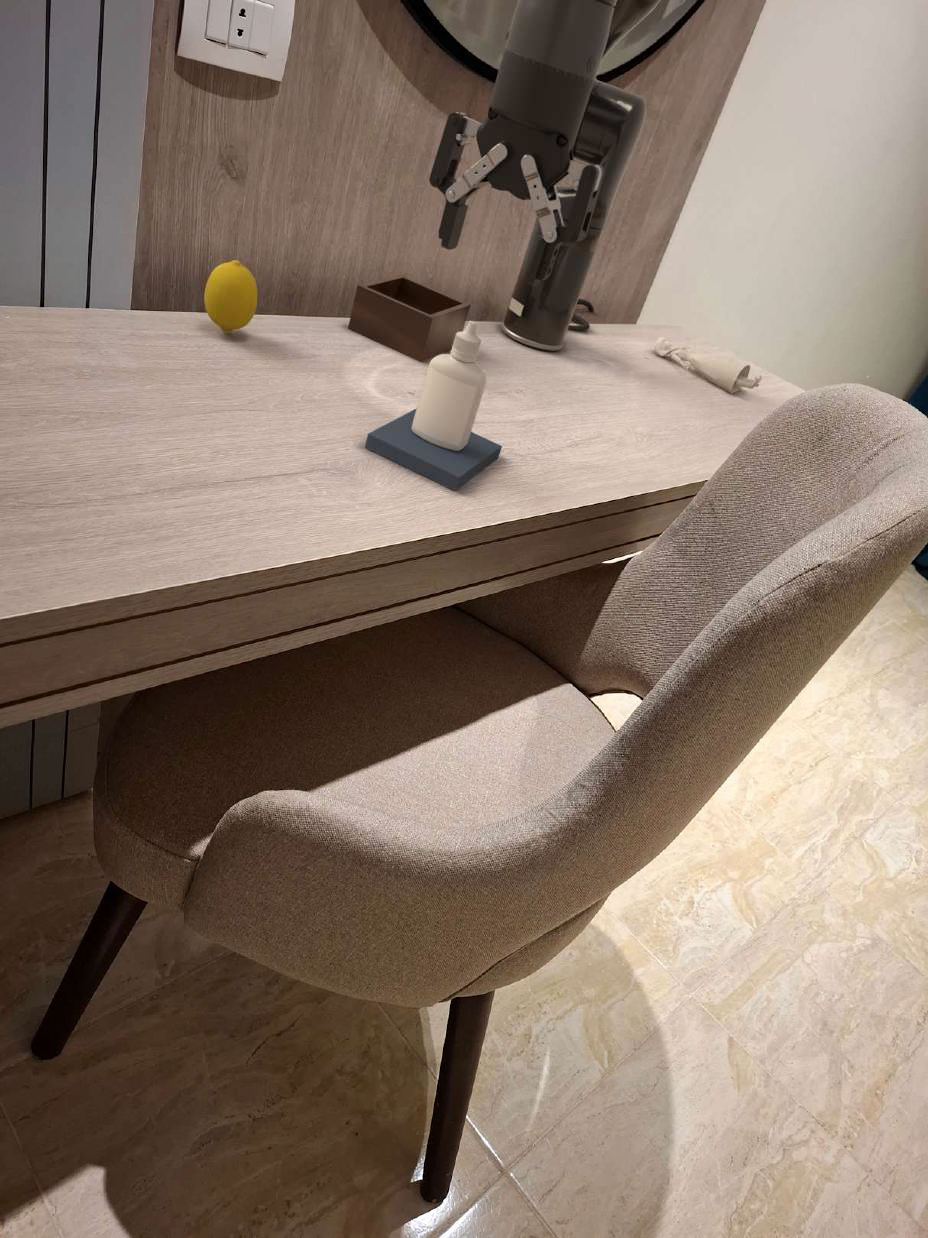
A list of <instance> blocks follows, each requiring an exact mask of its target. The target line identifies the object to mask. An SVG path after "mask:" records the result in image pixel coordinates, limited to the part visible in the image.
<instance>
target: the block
mask: <svg viewBox="0 0 928 1238" xmlns="http://www.w3.org/2000/svg"><path fill="white" fill-rule="evenodd" d="M416 409H417V407H416V408H414V409H412V410H410V411H409V412H407V413H405V414H403V415H401V416H399V417H397V418H395V419H394V420H391V421H389V422H387V423H385V424H383V425H382V426H380V427H378V428H376V429H374V430H372V431H371V432H368V433H367V436H366V441H365V444H364V448H365V449H367V450H369V451H371V452H373V453H375V454H377V455H379V456H381V457H383V458H386V459H388V460H390V461H392V462H394V463H396V464H398V465H400V466H402V467H404V468H406V469H409V470H410V471H412V472H415V473H416V474H419V475H421V476H422V477H425V478H427V479H429V480H431V481H433V482H435V483H438V484H439V485H442V486H444V487H446V488H448V489H450V490H452V491H453V492H456V491H457V490H458V489H459V488H460V489H461V487H463V486H464V485H465V484H466V483H469V481H470V480H472V479H473V478H475V477H476V476H477V475H478V474H480V473H481V472H483V470H485V469H486V468H488V467H489V466H490V465H492V464H493V463H495V462H496V461H497V460H498V459H499V457H500V454H501V451H502V448H503V446H502V445H501V444H498V443H497V442H495V441H492V440H490V439H488V438H485V437H484V436H482V435H479V434H477V433H475V432H473V431H471V433H470V436H469V439H468V442H467V445H466V446H465V447H464V448H463V449H461V450H459V451H453V450H449V449H446V448H442V447H439V446H437V445H434V444H432V443H430V442H428V441H426V440H424V439H422V438H420V437H419V436H417V435H416V434H414V433H413V431H412V424H413V420H414V416H415V413H416Z"/></svg>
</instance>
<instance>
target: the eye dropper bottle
mask: <svg viewBox="0 0 928 1238" xmlns="http://www.w3.org/2000/svg"><path fill="white" fill-rule="evenodd" d="M477 327H478V324H477V322H476V321H475V320H469V321H468V324H467V325H466V327H465V328H464V329H463V331H461V332H457V333H456V336H455V339H454V343H453V346H452V348H451V349H450V353H440V354H437V355H435V356H433V357H432V359H431V360H430V362H429V365H428V367H427V371H426V373H425V378H424V382H423V385H422V388H421V391H420V395H419V399H418V402H417V406H416V408H417V409H416V408H415V409H416V413H415V416H414V420H413V424H412V431H413V433H414V434H416V435H417V436H419V437H420V438H422V439H424V440H426V441H428V442H430V443H432V444H434V445H437V446H439V447H442V448H446V449H449V450H453V451H459V450H461V449H463V448H464V447H465V446H466V445H467V442H468V439H469V436H470V433H471V432H472V431H473V428H474V427H473V426H474V423H475V420H476V417H477V414H478V411H479V409H480V406H481V405H480V404H481V401H482V398H483V396H484V391H485V388H486V385H487V380H488V379H487V378H488V377H487V375H486V373H485V371H484V370H483V369H482V368H481V367H480V366H479V365H478V364H476V363H475V361H476V360H477V356H478V352H479V349H480V346H481V343H482V340H481V338H480V337H479V336H477Z"/></svg>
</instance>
